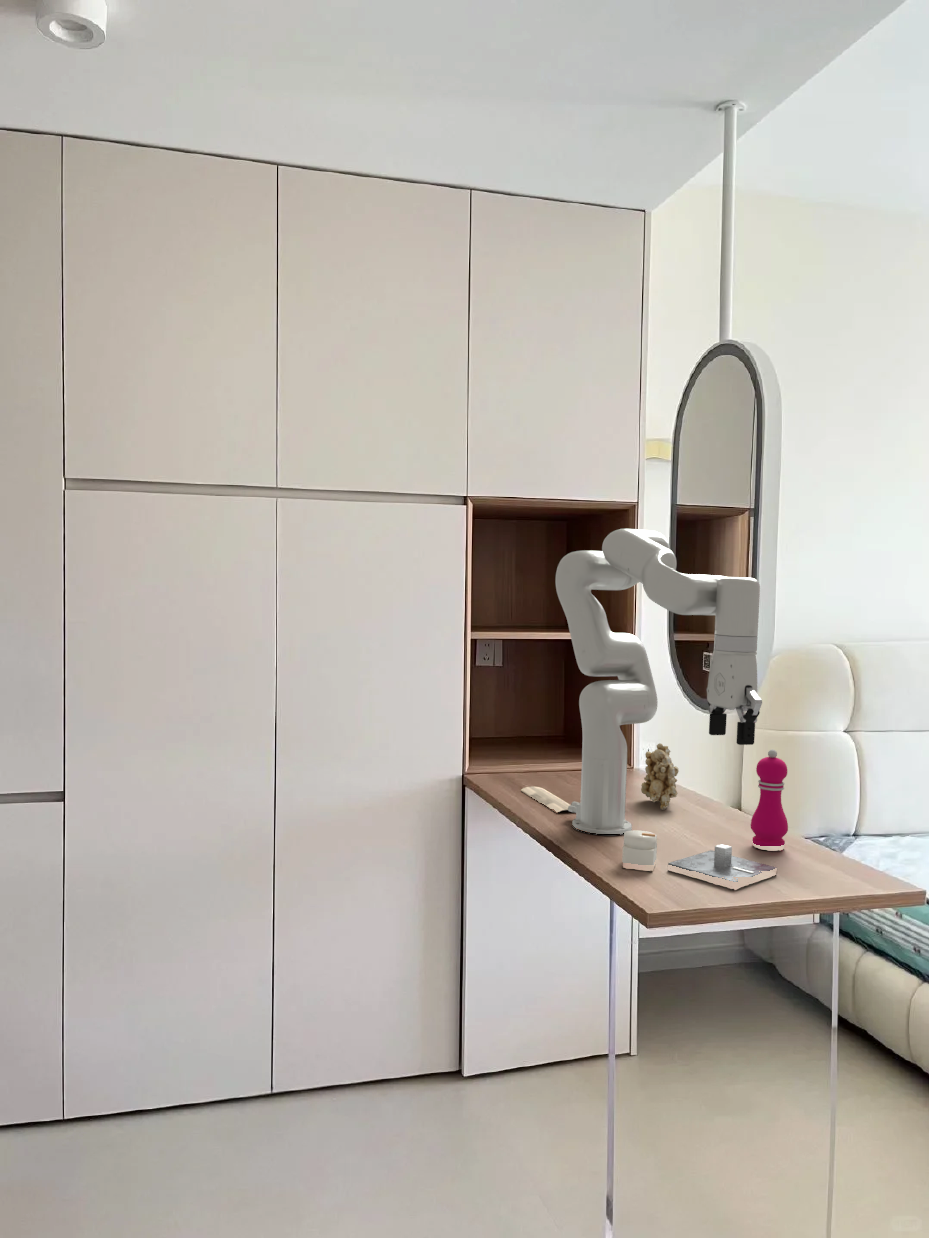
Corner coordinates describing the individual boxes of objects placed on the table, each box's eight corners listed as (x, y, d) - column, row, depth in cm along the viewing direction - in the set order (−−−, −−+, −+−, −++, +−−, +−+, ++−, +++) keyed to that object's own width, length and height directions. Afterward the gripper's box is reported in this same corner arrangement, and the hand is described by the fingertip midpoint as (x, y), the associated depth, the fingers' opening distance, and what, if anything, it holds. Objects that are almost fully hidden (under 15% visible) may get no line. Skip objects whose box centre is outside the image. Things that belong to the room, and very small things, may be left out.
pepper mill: (758, 840, 203) (762, 745, 202) (792, 847, 198) (797, 749, 197) (743, 847, 197) (748, 749, 196) (778, 854, 192) (783, 754, 192)
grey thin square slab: (667, 870, 179) (668, 844, 179) (710, 857, 189) (711, 832, 189) (734, 890, 169) (736, 862, 169) (776, 875, 179) (778, 848, 178)
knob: (620, 868, 180) (621, 835, 180) (625, 860, 186) (626, 827, 185) (653, 872, 178) (655, 838, 178) (657, 863, 184) (658, 830, 183)
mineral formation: (669, 799, 238) (671, 738, 238) (686, 812, 225) (689, 748, 224) (636, 799, 238) (639, 738, 237) (652, 812, 224) (655, 747, 224)
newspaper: (581, 816, 222) (581, 808, 222) (552, 817, 220) (552, 809, 220) (543, 793, 244) (543, 785, 244) (516, 793, 242) (517, 786, 242)
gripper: (693, 641, 184) (689, 731, 185) (742, 649, 167) (737, 748, 168) (729, 642, 186) (724, 731, 187) (781, 650, 169) (776, 748, 170)
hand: (730, 739), depth 177 cm, fingers open, 9 cm apart
